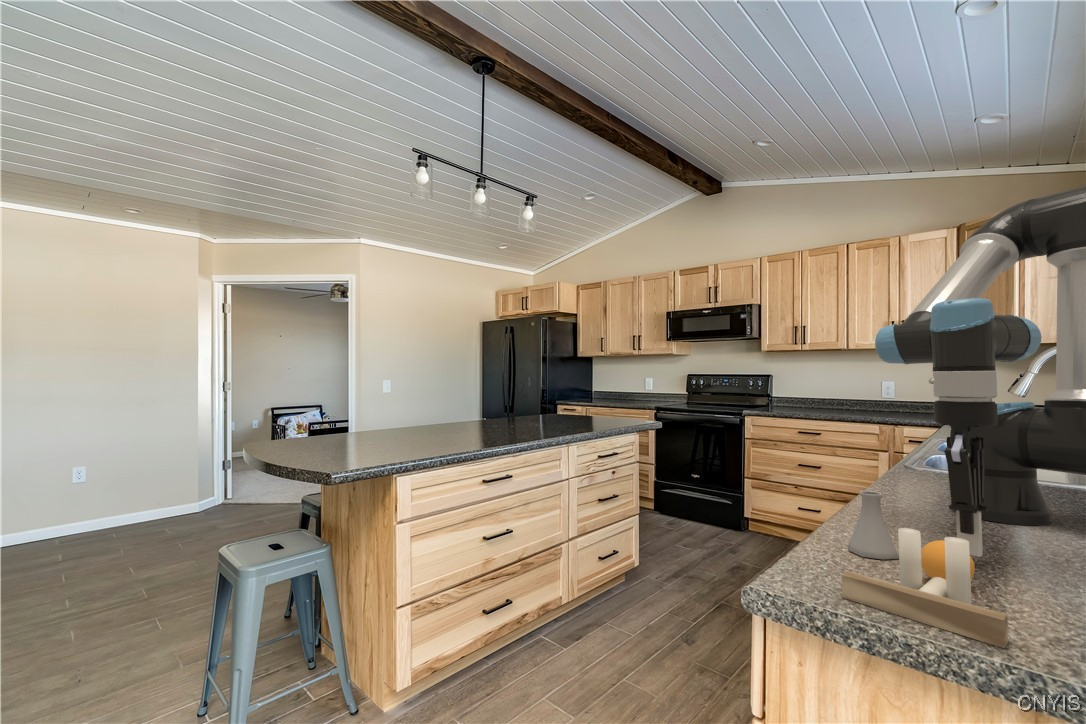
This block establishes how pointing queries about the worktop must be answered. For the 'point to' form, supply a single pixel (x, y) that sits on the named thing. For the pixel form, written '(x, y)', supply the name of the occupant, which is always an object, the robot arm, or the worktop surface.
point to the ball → (937, 560)
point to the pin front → (935, 587)
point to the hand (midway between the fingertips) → (970, 553)
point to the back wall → (927, 608)
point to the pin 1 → (910, 558)
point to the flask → (872, 530)
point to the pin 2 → (958, 569)
